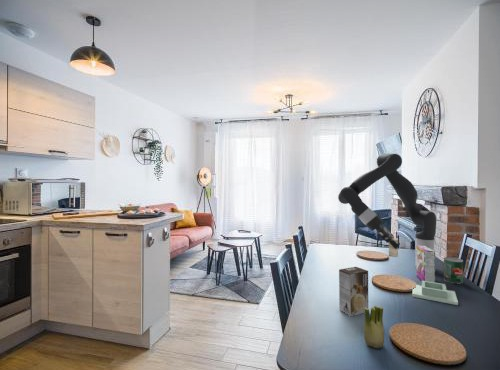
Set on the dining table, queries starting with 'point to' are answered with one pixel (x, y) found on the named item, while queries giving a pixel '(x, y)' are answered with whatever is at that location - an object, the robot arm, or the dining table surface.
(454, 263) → the canned tomato
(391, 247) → the ash slat
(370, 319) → the fennel bulb
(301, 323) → the dining table surface
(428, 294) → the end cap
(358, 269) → the coffee box
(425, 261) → the candy bar box
